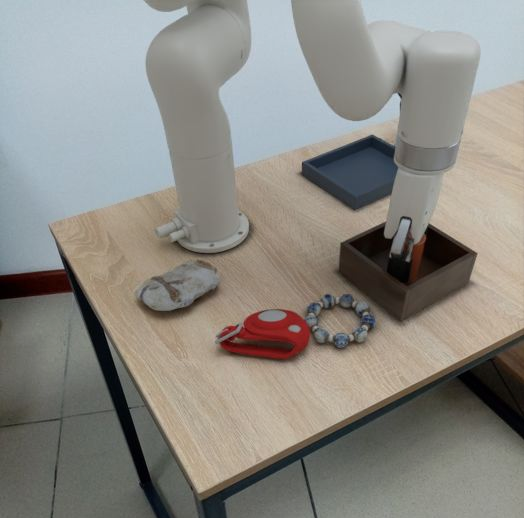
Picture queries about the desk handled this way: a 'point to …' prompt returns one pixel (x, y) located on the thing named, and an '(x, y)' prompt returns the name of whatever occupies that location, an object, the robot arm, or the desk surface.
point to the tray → (355, 171)
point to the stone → (178, 286)
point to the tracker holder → (267, 333)
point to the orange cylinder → (415, 257)
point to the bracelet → (340, 338)
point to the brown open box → (429, 277)
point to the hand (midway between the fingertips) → (405, 262)
